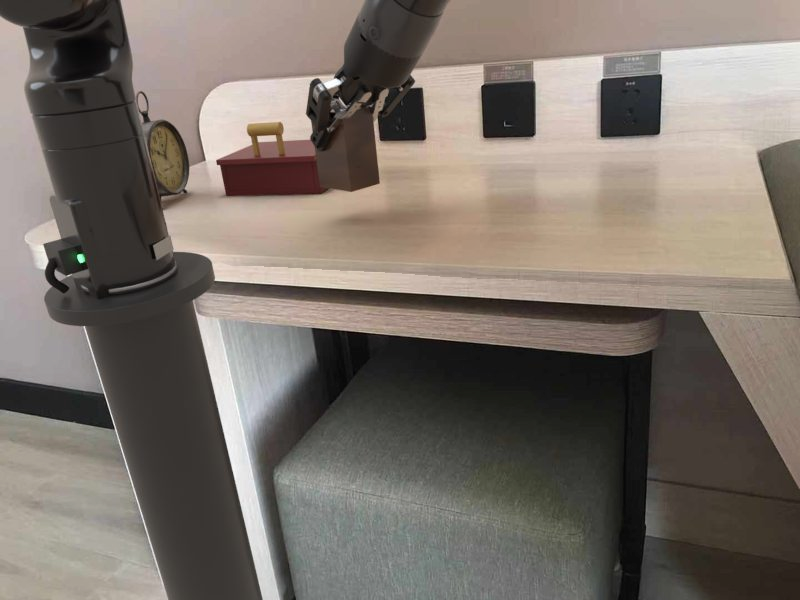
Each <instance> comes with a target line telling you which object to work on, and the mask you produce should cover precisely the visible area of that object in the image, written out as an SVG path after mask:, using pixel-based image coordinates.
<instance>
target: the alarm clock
mask: <svg viewBox="0 0 800 600" xmlns="http://www.w3.org/2000/svg"><path fill="white" fill-rule="evenodd" d="M140 94H141V95H142V96H143V97H144V100H145V103H146V109H145V110H142V111H141V109H140V107H139V95H140ZM135 96H136V101H137V105H138V109H139V113H140V116H142V118H143V119H142V120H143V121H141V122H142V126H143V130H144V135H145V139H146V143H147V147H148V151H149V155H150V160H151V164H152V168H153V172H154V176H155V180H156V184H157V189H158V193H159V197H160V201H161V202H162V197H170V196H177V195H180V194H181V193H183V194H187V193H188V190H187V189H186V187H187V184H188V183H189V182H188V181H189V176H190V161H189V154H188V151H187V146H186V144H185V141H184V139H183V137H182V135H181V133H180V132H179V129H177V128H176V126H175V124H172V123H171V122H170V121H169V120H166V119H162V118H161V119H157V120H151V119H150V117H149V110H150V106H149V105H150V104H149V100H148V97H147V95H146V93H145V92H143V91H142V90H139V91H137V93H135Z"/></svg>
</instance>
